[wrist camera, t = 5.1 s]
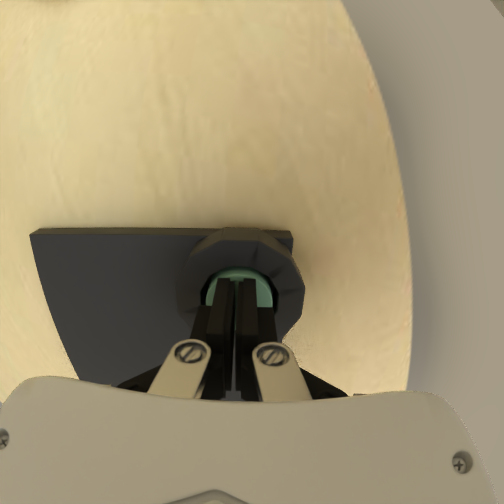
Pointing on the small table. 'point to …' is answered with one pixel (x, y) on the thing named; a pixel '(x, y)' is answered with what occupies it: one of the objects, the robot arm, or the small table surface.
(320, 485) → the robot arm
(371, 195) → the small table surface
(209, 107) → the small table surface
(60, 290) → the scale
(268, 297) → the button
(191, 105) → the small table surface
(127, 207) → the small table surface
